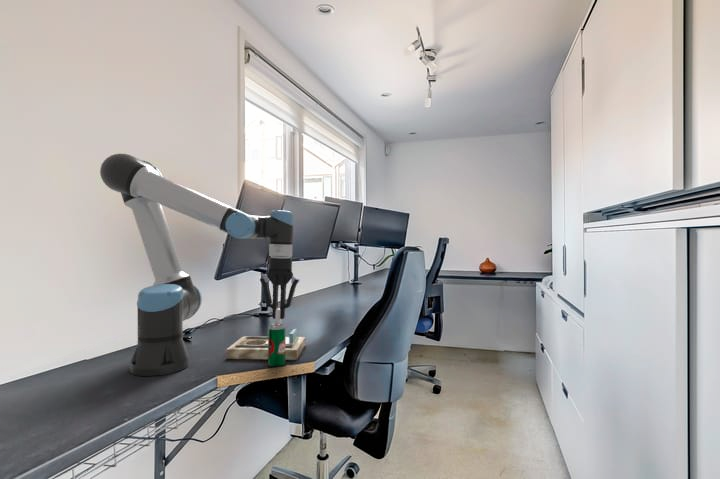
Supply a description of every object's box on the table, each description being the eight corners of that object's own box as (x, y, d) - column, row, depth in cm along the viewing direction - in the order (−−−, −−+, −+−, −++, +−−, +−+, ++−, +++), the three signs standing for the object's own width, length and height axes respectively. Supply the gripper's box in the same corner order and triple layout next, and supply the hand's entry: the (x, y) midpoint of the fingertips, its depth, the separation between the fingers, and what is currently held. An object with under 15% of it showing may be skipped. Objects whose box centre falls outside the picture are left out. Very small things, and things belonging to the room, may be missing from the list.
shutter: (264, 346, 125) (264, 334, 125) (271, 338, 134) (271, 327, 134) (292, 346, 125) (292, 334, 125) (297, 339, 134) (297, 328, 134)
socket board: (226, 358, 122) (226, 347, 122) (243, 344, 138) (243, 334, 138) (296, 359, 121) (296, 348, 121) (305, 345, 137) (305, 335, 137)
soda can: (281, 368, 114) (281, 326, 114) (265, 366, 115) (265, 325, 115) (288, 362, 119) (288, 323, 118) (272, 361, 120) (272, 322, 119)
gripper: (257, 257, 126) (255, 330, 126) (298, 258, 126) (295, 332, 126) (264, 256, 133) (261, 325, 133) (302, 257, 133) (299, 326, 133)
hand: (278, 328), depth 130 cm, fingers closed
